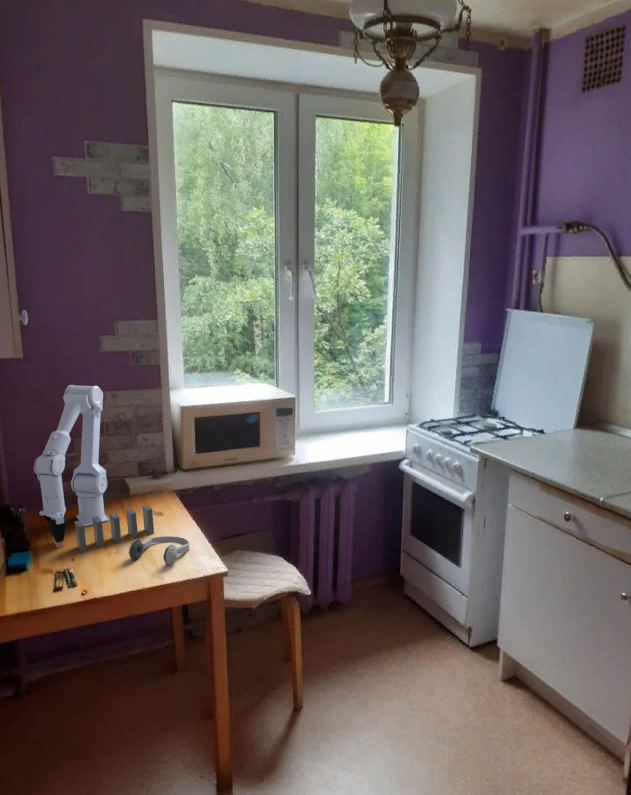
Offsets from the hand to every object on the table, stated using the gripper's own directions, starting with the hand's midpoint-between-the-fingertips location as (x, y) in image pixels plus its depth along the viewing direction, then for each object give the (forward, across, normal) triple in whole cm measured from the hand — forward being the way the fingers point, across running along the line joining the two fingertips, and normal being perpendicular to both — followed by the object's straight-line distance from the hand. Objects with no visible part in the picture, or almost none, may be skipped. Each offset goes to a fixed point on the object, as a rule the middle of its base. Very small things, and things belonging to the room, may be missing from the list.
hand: (57, 538), depth 179 cm
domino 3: (+2, +7, +10) cm, 12 cm away
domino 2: (+2, +7, +5) cm, 9 cm away
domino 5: (+2, +7, +20) cm, 21 cm away
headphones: (+2, +23, +21) cm, 32 cm away
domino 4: (+2, +7, +15) cm, 17 cm away
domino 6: (+2, +7, +25) cm, 26 cm away
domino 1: (+2, 0, 0) cm, 2 cm away
